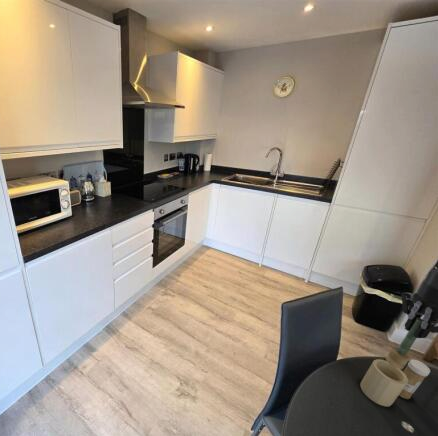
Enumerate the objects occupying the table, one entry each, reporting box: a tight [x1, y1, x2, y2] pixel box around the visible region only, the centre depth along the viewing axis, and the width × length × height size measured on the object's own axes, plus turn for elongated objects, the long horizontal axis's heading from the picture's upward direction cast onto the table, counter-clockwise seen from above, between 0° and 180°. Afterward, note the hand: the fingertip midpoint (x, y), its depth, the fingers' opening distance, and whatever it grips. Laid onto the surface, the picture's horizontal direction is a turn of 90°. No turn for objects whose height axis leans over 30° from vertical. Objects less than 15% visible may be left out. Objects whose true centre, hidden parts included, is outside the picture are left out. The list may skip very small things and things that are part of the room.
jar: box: [359, 358, 408, 407], centre depth 80 cm, size 8×8×11 cm
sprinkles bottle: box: [398, 359, 431, 400], centre depth 80 cm, size 5×5×13 cm
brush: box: [385, 317, 423, 370], centre depth 73 cm, size 4×4×18 cm
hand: (413, 333), depth 71 cm, fingers closed on brush, 2 cm apart
